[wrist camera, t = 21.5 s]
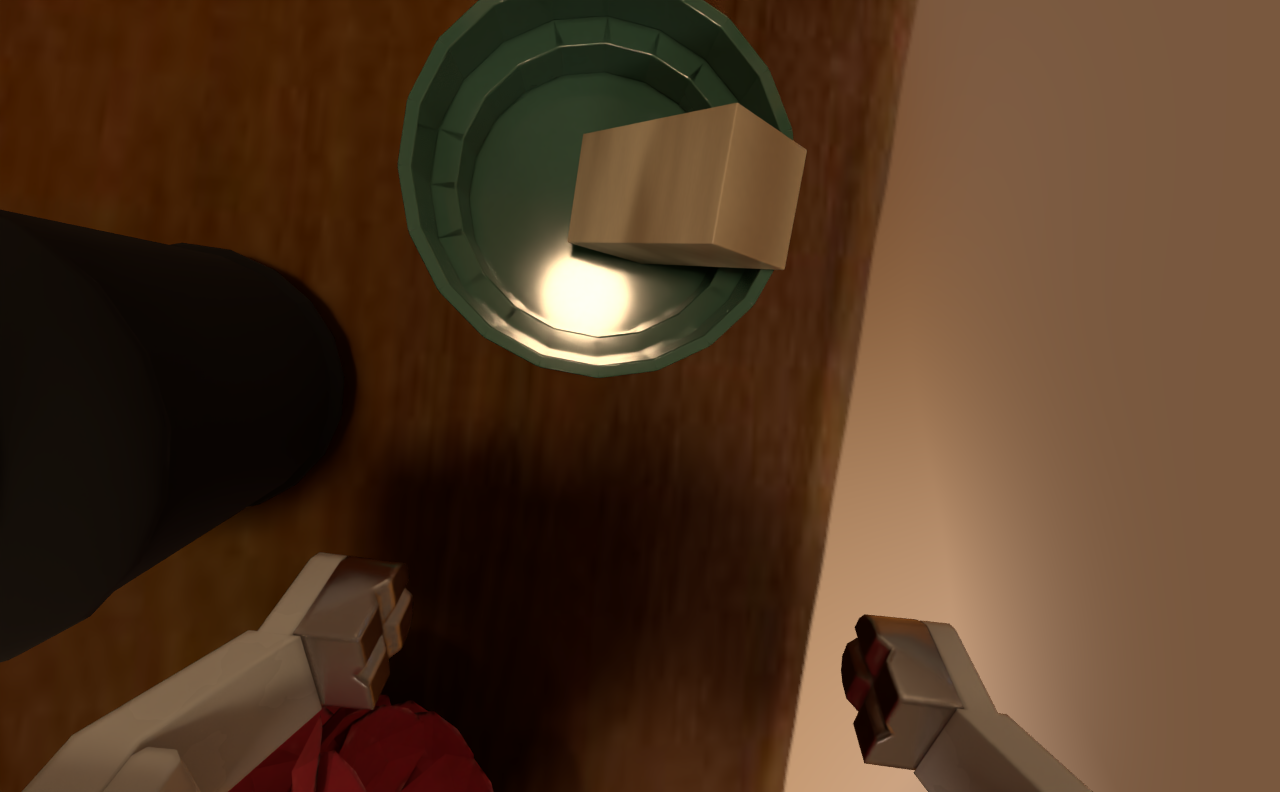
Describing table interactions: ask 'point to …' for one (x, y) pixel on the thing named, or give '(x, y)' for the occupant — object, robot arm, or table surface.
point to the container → (140, 408)
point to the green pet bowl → (567, 174)
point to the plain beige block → (689, 190)
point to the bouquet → (371, 754)
